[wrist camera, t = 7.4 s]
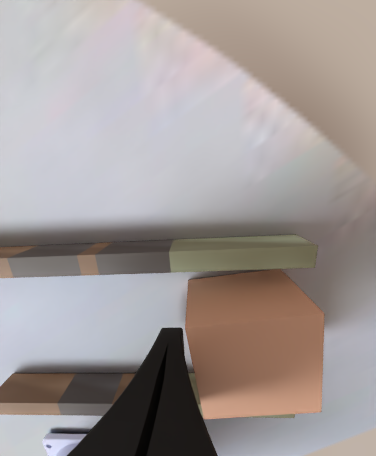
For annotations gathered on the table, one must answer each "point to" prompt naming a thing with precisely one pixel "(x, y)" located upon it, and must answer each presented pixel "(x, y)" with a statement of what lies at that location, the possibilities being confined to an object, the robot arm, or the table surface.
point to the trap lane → (129, 264)
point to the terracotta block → (254, 345)
